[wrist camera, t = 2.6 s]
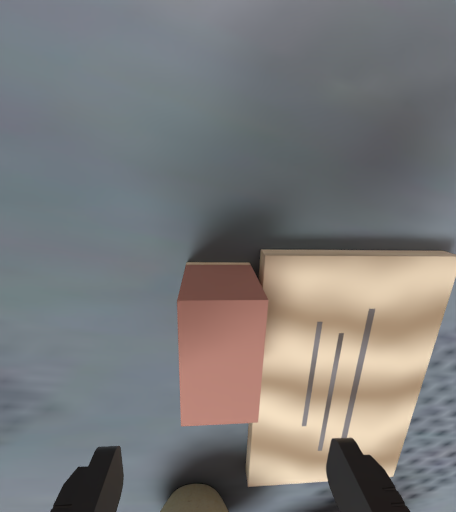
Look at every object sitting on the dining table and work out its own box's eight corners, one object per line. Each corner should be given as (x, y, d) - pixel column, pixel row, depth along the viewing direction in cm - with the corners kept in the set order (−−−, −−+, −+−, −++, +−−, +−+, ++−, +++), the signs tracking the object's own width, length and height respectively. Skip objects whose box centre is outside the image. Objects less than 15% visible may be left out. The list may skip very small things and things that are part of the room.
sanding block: (186, 261, 18) (177, 300, 12) (249, 262, 18) (268, 299, 13) (188, 356, 20) (181, 426, 15) (243, 354, 21) (258, 422, 15)
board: (260, 249, 18) (265, 255, 16) (443, 250, 19) (462, 256, 18) (245, 468, 24) (248, 487, 23) (382, 459, 26) (393, 476, 24)
